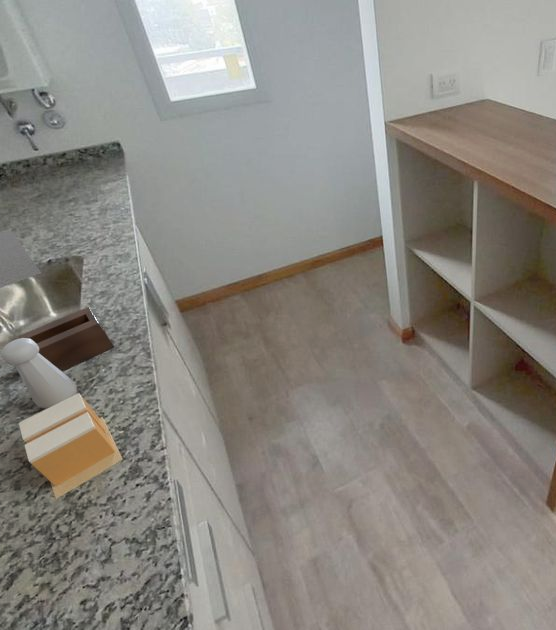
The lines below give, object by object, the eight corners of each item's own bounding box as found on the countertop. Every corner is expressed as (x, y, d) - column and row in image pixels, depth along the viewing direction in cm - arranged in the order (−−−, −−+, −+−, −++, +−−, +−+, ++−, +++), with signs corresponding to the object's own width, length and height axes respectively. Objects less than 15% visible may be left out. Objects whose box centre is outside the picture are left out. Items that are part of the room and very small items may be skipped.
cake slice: (55, 486, 60) (28, 461, 56) (50, 470, 62) (24, 444, 58) (115, 451, 64) (93, 426, 60) (108, 437, 66) (87, 411, 62)
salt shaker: (58, 420, 70) (5, 362, 62) (35, 411, 72) (-19, 353, 64) (91, 393, 75) (45, 336, 66) (68, 385, 76) (22, 328, 68)
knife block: (45, 379, 78) (24, 355, 74) (38, 359, 82) (18, 335, 79) (114, 347, 84) (98, 323, 80) (104, 330, 88) (88, 306, 84)
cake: (58, 502, 59) (27, 474, 55) (43, 453, 66) (14, 424, 61) (125, 462, 63) (101, 433, 59) (105, 419, 70) (81, 391, 66)
